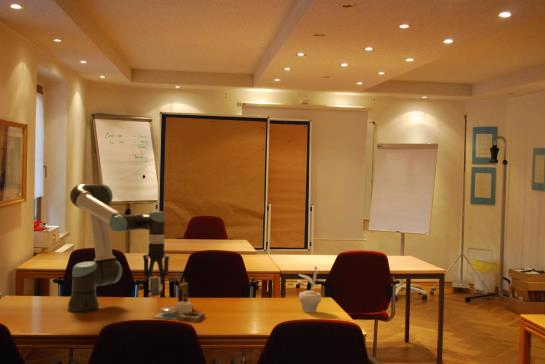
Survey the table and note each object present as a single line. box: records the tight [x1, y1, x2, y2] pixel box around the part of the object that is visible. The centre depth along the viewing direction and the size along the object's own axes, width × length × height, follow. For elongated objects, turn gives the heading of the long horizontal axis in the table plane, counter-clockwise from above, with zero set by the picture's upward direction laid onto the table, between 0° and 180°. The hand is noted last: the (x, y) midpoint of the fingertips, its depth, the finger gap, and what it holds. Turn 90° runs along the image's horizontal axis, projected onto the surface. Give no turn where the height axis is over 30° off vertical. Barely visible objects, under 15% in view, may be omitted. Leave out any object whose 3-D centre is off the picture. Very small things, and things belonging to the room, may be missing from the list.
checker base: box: [152, 312, 179, 321], centre depth 277 cm, size 12×12×1 cm
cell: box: [150, 276, 161, 297], centre depth 274 cm, size 4×4×9 cm
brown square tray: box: [177, 311, 205, 323], centre depth 273 cm, size 10×10×2 cm
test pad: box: [159, 306, 179, 314], centre depth 277 cm, size 9×9×2 cm
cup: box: [175, 301, 193, 316], centre depth 279 cm, size 6×6×6 cm
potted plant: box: [298, 266, 322, 314], centre depth 295 cm, size 13×12×25 cm
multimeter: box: [177, 270, 196, 311], centre depth 292 cm, size 15×10×20 cm
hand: (155, 290), depth 274 cm, fingers closed on cell, 4 cm apart
